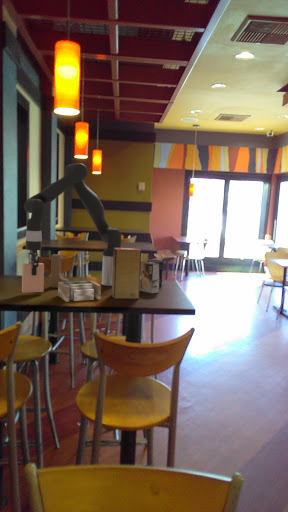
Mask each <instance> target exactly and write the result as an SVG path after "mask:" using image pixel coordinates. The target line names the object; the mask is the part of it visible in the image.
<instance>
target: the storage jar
mask: <svg viewBox="0 0 288 512" xmlns="http://www.w3.org/2000/svg"><path fill="white" fill-rule="evenodd" d="M146 262H152V263H158V264H160V277H159V288H162V286H163V285H162V283H163V270H164V261H163V260H159V259H147V260H146Z"/></svg>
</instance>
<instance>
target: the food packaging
mask: <svg viewBox="0 0 288 512" xmlns="http://www.w3.org/2000/svg"><path fill="white" fill-rule="evenodd" d="M141 260H142V250H141V249H140V248H138V247H137V248H135V247H134V248H133V247H130V248H129V247H121V248H114V251H113V274H112V286H111V296H112V299H114V300H121V299H122V300H128V299H129V300H139V299H140V285H141V263H142V261H141Z"/></svg>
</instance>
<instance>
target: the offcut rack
mask: <svg viewBox="0 0 288 512" xmlns="http://www.w3.org/2000/svg"><path fill="white" fill-rule="evenodd" d="M101 290H102V284H99V283H97V282H95V281H93V280H80V281H79V280H75V281H74V280H73V281H69V282H58V288H57V296H58V297H59V298H60V299H62V300H63V301H64V302H66V303H67V302H69V303H70V301H74V302H77V301H80V302H81V301H90V300H91V301H93V300H95V299H96V300H99V301H100V300H101V295H102V293H101V292H102V291H101Z"/></svg>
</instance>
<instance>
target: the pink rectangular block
mask: <svg viewBox="0 0 288 512" xmlns="http://www.w3.org/2000/svg"><path fill="white" fill-rule="evenodd" d="M34 265H36V263H35V264H34ZM44 282H45V263H42V262H41V263H40V262H39V263H38V267H37V273H36V275H32V263H29V262H28V263H22V265H21V292H22V293H23V294H24V293H25V294H26V293H44V285H45V283H44Z"/></svg>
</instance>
